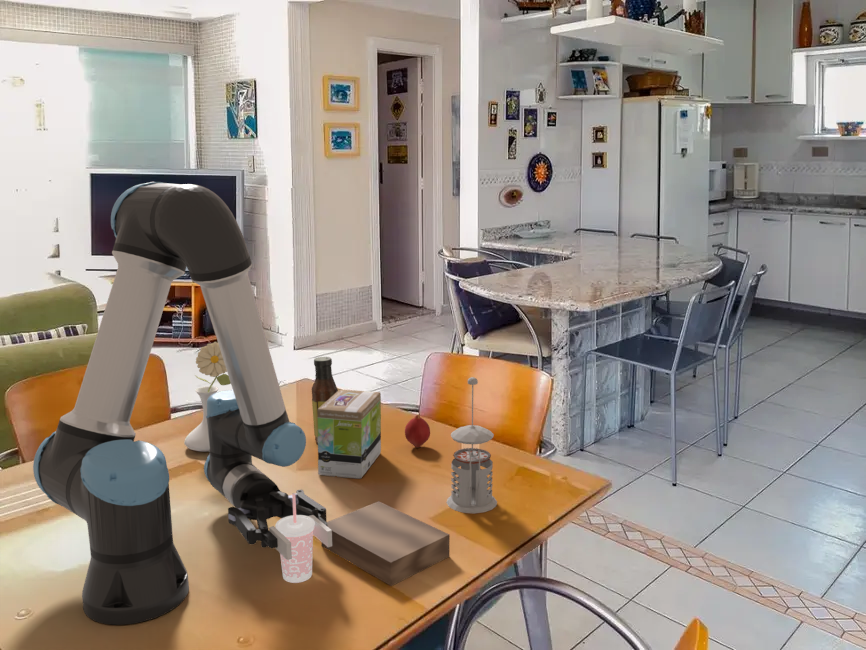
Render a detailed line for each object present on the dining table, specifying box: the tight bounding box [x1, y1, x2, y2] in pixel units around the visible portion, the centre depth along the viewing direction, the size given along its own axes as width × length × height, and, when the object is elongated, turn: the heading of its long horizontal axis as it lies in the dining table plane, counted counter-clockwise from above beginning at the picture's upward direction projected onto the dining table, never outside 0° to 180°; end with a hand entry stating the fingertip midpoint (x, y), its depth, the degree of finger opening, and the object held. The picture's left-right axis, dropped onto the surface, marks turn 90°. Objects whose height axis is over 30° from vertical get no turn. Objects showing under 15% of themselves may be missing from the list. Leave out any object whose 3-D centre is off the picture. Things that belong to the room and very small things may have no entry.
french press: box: [446, 376, 498, 514], centre depth 149 cm, size 10×12×25 cm
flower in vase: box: [183, 341, 231, 452], centre depth 179 cm, size 13×11×25 cm
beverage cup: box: [274, 492, 315, 584], centre depth 125 cm, size 6×6×14 cm
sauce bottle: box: [311, 356, 339, 443], centre depth 183 cm, size 7×6×20 cm
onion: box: [404, 413, 431, 449], centre depth 180 cm, size 6×6×8 cm
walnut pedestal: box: [320, 500, 450, 587], centre depth 134 cm, size 13×18×4 cm
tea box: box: [317, 389, 382, 479], centre depth 170 cm, size 15×10×15 cm, turn 168°
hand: (309, 544), depth 121 cm, fingers closed on beverage cup, 6 cm apart
